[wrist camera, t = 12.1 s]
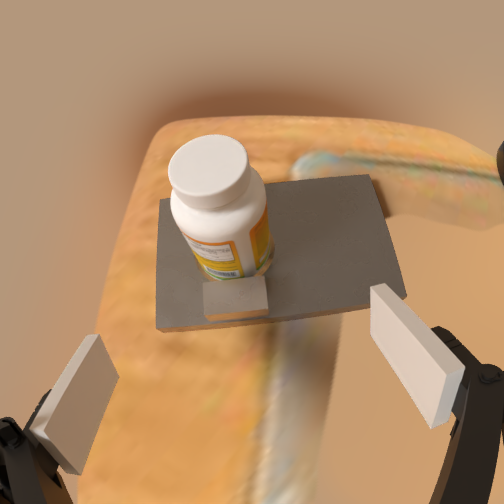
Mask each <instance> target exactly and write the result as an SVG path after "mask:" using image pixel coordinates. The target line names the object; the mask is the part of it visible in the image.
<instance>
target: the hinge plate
mask: <svg viewBox="0 0 504 504" xmlns="http://www.w3.org/2000/svg"><path fill="white" fill-rule="evenodd" d="M264 186H265V191H266V198H267V211H268V223H269V235H270V253H269V256H268V259H267V261H266V263H265V265H264V266H263V267H262V269H261V270H260V271H259V272H258V273H257V274H255V275H254V276H252V277H247V278H239V279H230V280H222V281H220V280H217V279H215V278H213V277H212V276H210V275H209V274H208V273H207V272H206V271H205V270H204V269H203V268H202V266H201V265H200V263H199V262H198V260H197V258H196V256H195V255H194V253H193V251H192V250H191V248H190V246H189V244H188V243H187V241H186V239H185V237H184V236H183V234H182V232H181V231H180V229H179V227H178V226H177V224H176V222H175V220H174V217H173V215H172V211H171V205H170V200H171V198H166V199H161V200H160V206H159V221H158V240H157V265H156V329H158V330H159V331H161V332H163V333H167V332H181V331H194V330H206V329H217V328H228V327H237V326H247V325H256V324H264V323H273V322H281V321H289V320H296V319H303V318H310V317H317V316H324V315H331V314H337V313H343V312H349V311H355V310H361V309H367V308H371V304H370V287H371V286H375V285H379V284H383V283H385V284H386V285H387V286H388V287H389V288H390V289H391V290H392V291H393V292H394V293H395V294H396V295H397V296H398V297H399V298H400V299H401V300H403V299H405V298H406V297H407V294H406V290H405V286H404V283H403V279H402V275H401V271H400V268H399V264H398V260H397V257H396V254H395V250H394V247H393V243H392V241H391V237H390V234H389V231H388V228H387V224H386V221H385V218H384V215H383V212H382V209H381V206H380V203H379V201H378V198H377V195H376V192H375V189H374V187H373V184H372V181H371V179H370V176H369V174H366V175H353V176H341V177H329V178H318V179H308V180H298V181H289V182H280V183H271V184H264Z"/></svg>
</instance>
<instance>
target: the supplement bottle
mask: <svg viewBox="0 0 504 504" xmlns="http://www.w3.org/2000/svg"><path fill="white" fill-rule="evenodd" d="M168 175H169V180H170V182H171V185H172V187H173V190H172V193H171V200H170V205H171V211H172V215H173V217H174V220H175V222H176V224H177V226H178V227H179V229H180V231H181V232H182V234H183V236H184V237H185V239H186V241H187V243H188V244H189V246H190V248H191V250H192V251H193V253H194V255H195V256H196V258H197V260H198V262H199V263H200V265H201V266H202V268H203V269H204V270H205V271H206V272H207V273H208V274H209V275H210V276H212V277H213V278H215V279H217V280H220V281H222V280H230V279H239V278H247V277H252V276H254V275H255V274H257V273H258V272H259V271H260V270H261V269H262V267H263V266H264V265H265V263H266V261H267V259H268V256H269V253H270V235H269V223H268V211H267V198H266V191H265V186H264V183H263V181H262V178H261V177H260V175H259V174H258V173H257V171H256V170H255V169H254V168H252V167H251V166H250V164H249V159H248V154H247V151H246V150H245V148H244V146H243V145H242V144H241V143H240V142H239V141H237V140H236V139H234V138H232V137H229V136H225V135H206V136H201V137H198V138H195V139H193V140H191V141H189V142H187V143H186V144H184V145H183V146H182V147H181V148H179V149H178V150H177V152H176V153H175V154H174V155H173V157H172V159H171V161H170V163H169V167H168Z"/></svg>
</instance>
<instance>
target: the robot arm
mask: <svg viewBox="0 0 504 504" xmlns="http://www.w3.org/2000/svg"><path fill="white" fill-rule="evenodd" d="M497 167H498V171H499V174H500V177H501V180H502V183H503V185H504V141H503V143H502V144H501V146H500V148H499V149H498V153H497ZM370 304H371V320H370V335H371V337H372V338H373V340H374V341H375V343H376V344H377V346H378V347H379V349H380V350H381V352H382V353H383V355H384V356H385V358H386V359H387V361H388V363H389V364H390V366H391V367H392V368H393V370H394V372H395V373H396V375H397V376H398V378H399V379H400V381H401V383H402V384H403V386H404V387H405V389H406V390H407V392H408V393H409V395H410V397H411V398H412V400H413V401H414V403H415V405H416V406H417V408H418V409H419V411H420V413H421V414H422V416H423V417H424V419H425V420H426V422H427V424H428V426H429V427H430V429H433V428H435V427H437V426H439V425H442V424H444V423H446V422H448V420H449V417H450V414H451V412H453V413H454V415H455V417H456V421H455V424H454V426H453V428H452V431H451V433H450V435H451V439H450V443H449V446H448V450H447V453H446V457H445V460H444V463H443V466H442V469H441V472H440V476H439V478H438V481H437V484H436V487H435V489H434V492H433V495H432V497H431V500H430V502H429V504H487V503H488V500H489V496H490V492H491V487H492V483H493V478H494V474H495V468H496V463H497V457H498V451H499V444H500V436H501V429H502V436H503V444H504V371H502V370H501V369H500V368H499V367H497V366H495V365H492V364H481V363H480V362H479V361H478V360H477V359H476V358H475V357H474V356H473V355H472V354H471V353H470V351H469V350H468V349H467V348H466V347H465V346H464V345H462V343H461V342H460V341H459V340H458V339H457V340H456V337H455V336H454V335H452V333H450V331H448V330H446V329H444V328H442V327H440V326H437V327H434V328H431V329H430V328H429V327H428V326H427V325H426V324H425V323H424V322H423V321H422V320H421V319H420V318H419V317H418V316H417V315H416V314H415V313H414V312H413V311H412V310H411V309H410V308H409V307H408V306H407V305H406V304H405V303H404V302H403V301H402V300H401V299H400V298H399V297H398V296H397V295H396V294H395V293H394V292H393V291H392V290H391V289H390V288H389V287H388V286H387V285H386V284H385V283H383V284H379V285H375V286H371V287H370ZM118 379H119V375H118V373H117V371H116V369H115V367H114V365H113V363H112V361H111V359H110V356H109V354H108V352H107V350H106V348H105V346H104V343H103V341H102V339H101V337H100V334H92V335H87V336H86V337H85V339H84V340H83V342H82V343H81V345H80V346H79V348H78V349H77V351H76V352H75V354H74V355H73V357H72V358H71V360H70V361H69V363H68V365H67V366H66V368H65V369H64V371H63V373H62V374H61V376H60V377H59V379H58V380H57V382H56V384H55V385H54V387H53V389H50V390H49V391H48V392H47V393H46V394H45V395H44V396H43V397H42V399H41V401H40V402H39V405H38V406H37V407H36V409H35V412H33V414H32V415H31V417H30V419H29V421H28V422H27V424H26V426H25V428H24V429H23V431H22V429H21V428H20V427H19V426H18V424H17V423H16V422H15V420H14V419H13V418H11V417H4V418H1V419H0V504H73V502H72V500H71V498H70V495H69V493H68V491H67V489H66V486H65V484H64V482H63V479H62V477H61V475H60V474H59V472H58V471H57V468H58V466H59V465H60V466H61V467H62V469H63V470H64V471H65V472H66V473H69V474H75V475H82V472H83V469H84V466H85V463H86V460H87V458H88V455H89V452H90V449H91V447H92V444H93V441H94V439H95V436H96V433H97V431H98V428H99V425H100V423H101V420H102V418H103V415H104V413H105V410H106V408H107V405H108V403H109V400H110V398H111V395H112V393H113V390H114V388H115V386H116V383H117V381H118Z"/></svg>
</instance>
